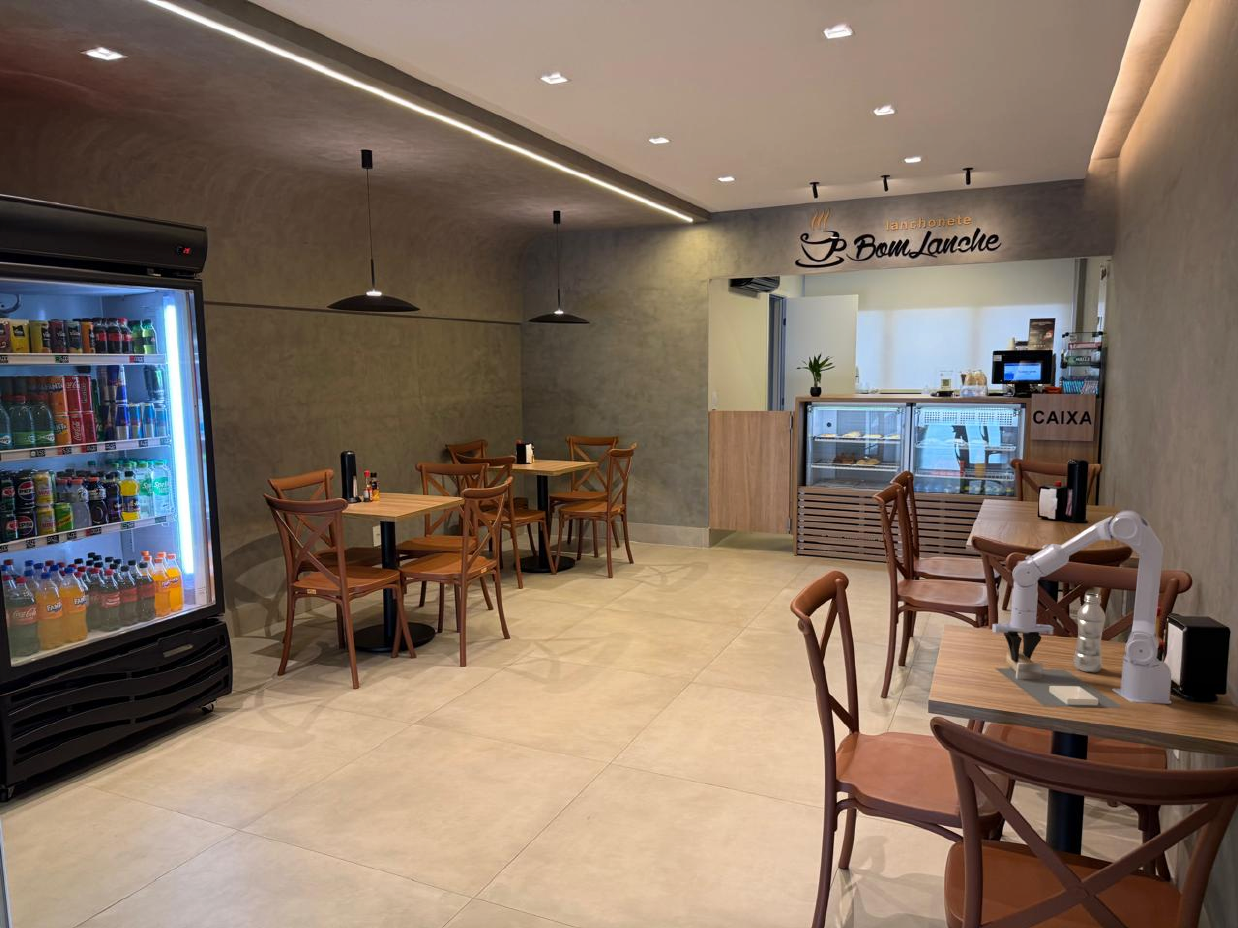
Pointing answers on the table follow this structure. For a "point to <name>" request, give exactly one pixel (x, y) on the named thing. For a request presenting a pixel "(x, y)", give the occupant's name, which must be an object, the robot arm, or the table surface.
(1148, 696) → the robot arm
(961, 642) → the table surface
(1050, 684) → the mat
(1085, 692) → the tile
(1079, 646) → the plastic bottle
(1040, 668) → the tan upright post
